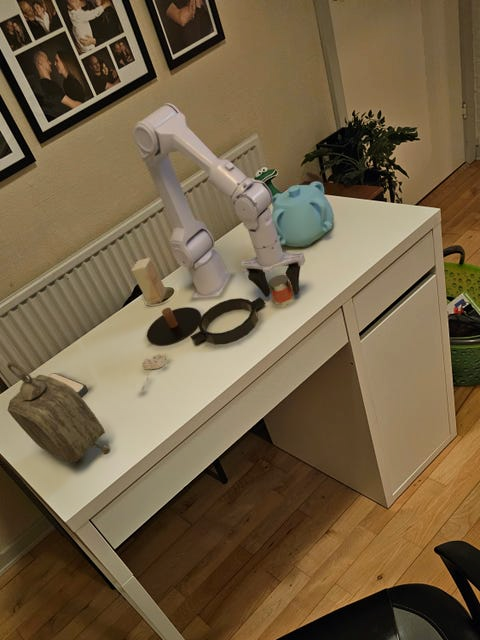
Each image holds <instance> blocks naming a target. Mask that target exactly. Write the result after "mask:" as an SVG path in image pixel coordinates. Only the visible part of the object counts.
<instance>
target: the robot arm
mask: <svg viewBox="0 0 480 640" xmlns="http://www.w3.org/2000/svg"><path fill="white" fill-rule="evenodd" d="M131 136H132V139H133V141H134V144H135V146H136V148H137V151H138V152H139V155H140V157H141V159H142V161H143V162H144V164H145V166H146V168H147V170H148V173H149V175H150V177H151V179H152V181H153V184H154V186H155V188H156V190H157V192H158V195H159V197H160V199H161V201H162V204H163V206H164V208H165V211H166V213H167V215H168V217H169V219H170V222H171V224H172V226H173V230H172V234H171V237H170V240H169V243H170V246H171V247H172V254H173V258H174V259H175V261H176V262H177V264H178V265H180V266H181V267H183V268H185V269H187V271H188V274H189V276H190V277H191V281H192V283H193V285H194V287H195V293H194V294H193V296H192V298H193V299H197V298H207V297H208V298H209V297H215V296H216V297H217V296H219V295H220V294H221V293H222V291H223V289H224V287H225V285H226V284H227V282H228V280H229V278H230V277H231V274H230V273H228V272H227V270H226V267H225V265H224V263H223V260H222V257H221V255H220V253H218V252H217V250H215V249H213V248H214V247H215V239H214V236H213V234H212V233H211V231H210V230H209V229H208V227H207V226H206V225H207V224H206V223H205V221H203V220H200V219H196V218H195V216H194V214H193V212H192V209H191V207H190V204H189V201H188V200H187V196H186V195H185V193H184V190H183V188H182V185H181V182H180V180H179V178H178V176H177V173H176V171H175V169H174V166H173V164H172V161H171V159H170V157H169V153H176V152H179V153H180V154H181V155H183V156H184V157H185V158H187V159H188V160H189V161H191V162H192V163H194V164H195V165H196V166H197V167H199V168H200V169H202V170H203V171H204V172H205V173H207V174H208V180H209V183H210V184H211V185H212V186H213V187H214V188H215V189H216V190H217V191H218V192H220V193H221V194H222V195H223V196H224V197H225V198H227V199H228V200H229V201H230V202H231V203H232V204H233V205H234V208H233V211H234V212H235V214H236V216H237V217H238V218H239V219H240V220H241V221H242V223H243V227H245V229H247V232H248V235H249V239H250V241H251V243H252V247H253V249H254V253H255V255H256V257H253V258H250V259H245V260H243V261H242V263H241V265H240V267H241V269H242V272H243V273H247V272H248V275H247V279H248V280H249V281H251V282H252V283H253V284H254V285H255V286H256V287H257V288H258V289H259V290H260V292H261V293H262V294H263V296H264V298H269V296H270V294H271V291H270V288H269V285H268V283H269V281H268V280H267V275H266V273H270V272H272V271H273V270H274V269H277V268H281V267H287V268H286V271H285V272H284V275H287V277H288V279H289V281H290V284H291V287H292V290H293V294H294V296H297V295H298V294H299V292H300V272H301V267H302V266H304V265H305V262H306V258H305V254H304V253H303V252H300V253H299V252H298V253H297V252H286V251H283V249H282V245H280V241H279V238H278V234H277V231H276V228H275V224H274V221H273V218H272V211H271V208H270V206H271V205H272V199H273V198H272V197H273V194H272V193H273V192H272V191H271V189H270V187H269V186H268V185H267V184H266V183H265V182H264V181H263V180H260V179H259V180H258V179H255V178H252V177H250V178H249V177H248V176H247V175H246V174H245V173H243V171H241V170H240V169H239V168H238V167H237V166H235V165H234V163H232V162H231V160H229V159H226V158H224V159H219V158H218V157H217V155H215V154H214V153H213V152H212V151H211V149H210V148H208V147H207V146H206V144H204V142H203V141H201V139H200V138H199V137H198V136H197V135H196V134H195V133H194V132H193V131H192V130H191V129H190V128H189V125H188V121H187V117H186V115H185V114H184V113H182V112H181V111H180V110H179V109H178V107H177V106H176V105H174V104H172V103H169V102H165V103H163V104H162V105H161V107H159V108H158V109H156V110H155V111H153V112H152V113H150V114H149V115H148V116H146V117H144V118H143V119H142V120H139V121H137V122H136V123H135V124H134V126H133V130H132V132H131Z"/></svg>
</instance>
